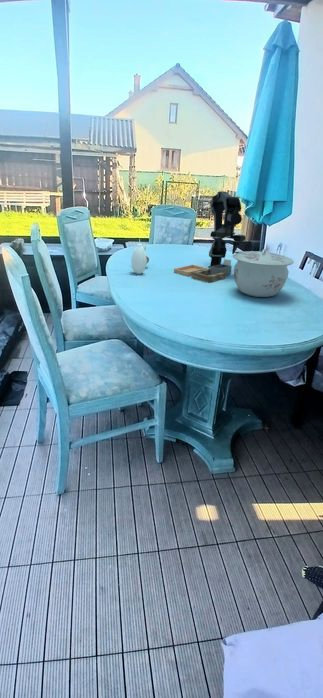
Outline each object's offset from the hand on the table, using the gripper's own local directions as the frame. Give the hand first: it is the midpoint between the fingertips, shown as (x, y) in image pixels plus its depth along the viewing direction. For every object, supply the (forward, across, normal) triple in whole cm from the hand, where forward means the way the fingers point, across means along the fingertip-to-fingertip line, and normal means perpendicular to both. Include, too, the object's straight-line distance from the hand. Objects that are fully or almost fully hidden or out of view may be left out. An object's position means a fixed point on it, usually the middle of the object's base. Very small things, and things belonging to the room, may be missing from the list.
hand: (225, 252), depth 206 cm
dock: (+12, 0, -14) cm, 18 cm away
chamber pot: (+12, +31, -17) cm, 37 cm away
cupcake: (+12, -38, -26) cm, 48 cm away
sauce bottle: (+12, -29, -37) cm, 49 cm away
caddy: (+12, 0, -2) cm, 12 cm away
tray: (+12, -14, -11) cm, 22 cm away
